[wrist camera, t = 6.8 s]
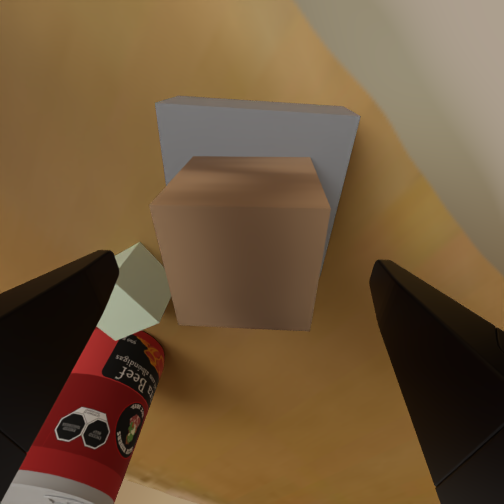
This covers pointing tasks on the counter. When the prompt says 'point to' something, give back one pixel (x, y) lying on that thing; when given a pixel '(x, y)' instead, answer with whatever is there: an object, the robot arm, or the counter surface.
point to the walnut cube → (243, 241)
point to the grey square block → (259, 136)
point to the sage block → (136, 294)
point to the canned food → (92, 424)
